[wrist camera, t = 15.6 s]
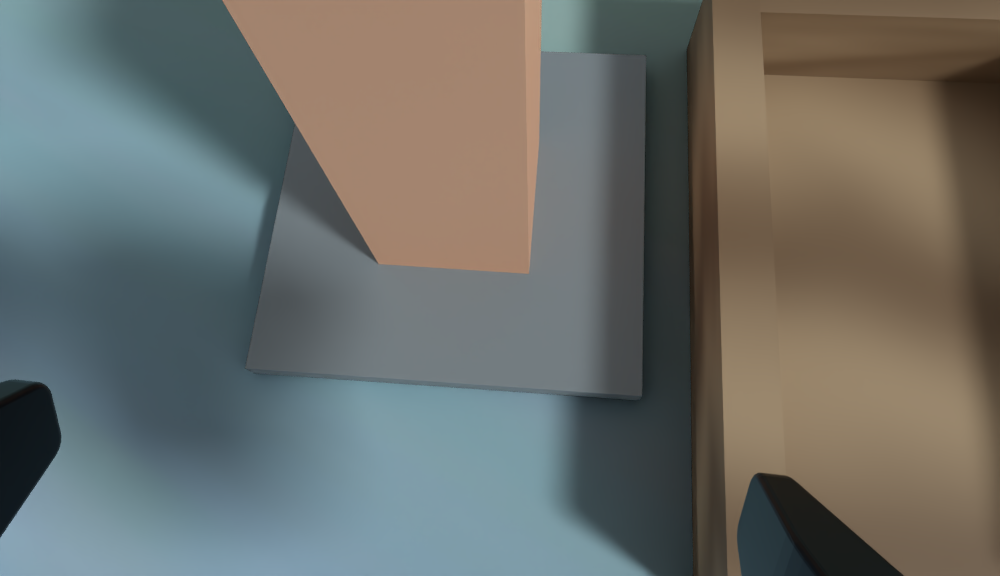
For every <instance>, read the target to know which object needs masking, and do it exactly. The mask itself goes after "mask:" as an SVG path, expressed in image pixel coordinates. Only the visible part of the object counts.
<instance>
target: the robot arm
mask: <svg viewBox="0 0 1000 576" xmlns="http://www.w3.org/2000/svg"><path fill="white" fill-rule="evenodd" d="M60 444H61V431H60V427H59V423H58V419H57V414H56V410H55V406H54V402H53V398H52V394H51V391H50V390H49V388H48V387H47V386H46V385H44V384H42V383H40V382H32V381H24V380H8V381H4V382H1V383H0V537H1V536H2V534H3V533H4V531H5V530H6V528H7V527H8V525H9V524H10V523H11V521H12V520H13V518H14V517H15V515H16V514H17V512H18V511H19V509H20V508H21V506H22V505H23V503H24V502H25V500H26V499H27V497H28V496H29V494H30V493H31V491H32V490H33V489H34V487H35V486H36V484H37V483H38V481H39V480H40V478H41V477H42V475H43V474H44V472H45V471H46V469H47V468H48V466H49V465H50V463H51V462H52V460H53V459H54V457H55V456H56V454H57V452H58V450H59V447H60ZM737 546H738V553H739V561H740V569H741V576H904V575H903V574H902V573H901V572H899V571H898V570H897V569H896V568H895V567H894V566H893V565H891V564H890V563H889V562H888V561H887V560H886V559H885V558H883V557H882V556H881V555H880V554H879V553H878V552H877V551H875V550H874V549H873V548H872V547H871V546H870V545H869V544H867V543H866V542H865V541H864V540H863V539H862V538H861V537H859V536H858V535H857V534H856V533H855V532H854V531H853V530H851V529H850V528H849V527H848V526H847V525H846V524H845V523H843V522H842V521H841V520H840V519H839V518H838V517H837V516H835V515H834V514H833V513H832V512H831V511H830V510H829V509H827V508H826V507H825V506H824V505H823V504H822V503H820V502H819V501H818V500H817V499H816V498H815V497H814V496H812V495H811V494H810V493H809V492H808V491H807V490H806V489H804V488H803V487H802V486H801V485H800V484H799V483H798V482H796V481H795V480H794V479H793V478H791V477H789V476H786V475H778V474H770V473H762V472H760V473H757V474H755V475H754V476H753V477H752V479H751V481H750V484H749V487H748V491H747V494H746V498H745V501H744V505H743V509H742V512H741V516H740V519H739V523H738V529H737Z"/></svg>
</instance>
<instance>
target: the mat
mask: <svg viewBox="0 0 1000 576" xmlns="http://www.w3.org/2000/svg"><path fill="white" fill-rule="evenodd" d="M645 106H646V55H624V54H596V53H568V52H541V63H540V124H539V150H538V163H537V176H536V189H535V202H534V215H533V228H532V241H531V254H530V267H529V274H523V273H508V272H492V271H477V270H462V269H446V268H431V267H415V266H400V265H385V264H378V262H377V260H376V259H375V257H374V255H373V254H372V252H371V250H370V249H369V247H368V245H367V244H366V242H365V240H364V239H363V237H362V235H361V233H360V232H359V230H358V228H357V227H356V225H355V223H354V222H353V220H352V218H351V217H350V215H349V213H348V212H347V210H346V208H345V206H344V205H343V203H342V201H341V200H340V198H339V196H338V195H337V193H336V191H335V190H334V188H333V186H332V185H331V183H330V181H329V179H328V178H327V176H326V174H325V173H324V171H323V169H322V168H321V166H320V164H319V163H318V161H317V159H316V158H315V156H314V154H313V153H312V151H311V149H310V147H309V146H308V144H307V142H306V141H305V139H304V137H303V136H302V134H301V132H300V131H299V129H298V127H297V126H296V124H295V126H294V131H293V136H292V140H291V145H290V150H289V155H288V160H287V165H286V170H285V175H284V180H283V185H282V190H281V194H280V199H279V204H278V209H277V214H276V219H275V224H274V229H273V234H272V239H271V244H270V248H269V253H268V258H267V263H266V268H265V273H264V278H263V283H262V288H261V293H260V298H259V302H258V307H257V312H256V317H255V322H254V327H253V332H252V337H251V342H250V347H249V352H248V356H247V361H246V366H245V369H247V370H249V371H251V372H253V373H258V374H272V375H286V376H301V377H315V378H329V379H343V380H357V381H371V382H386V383H400V384H414V385H428V386H442V387H457V388H471V389H485V390H499V391H513V392H527V393H542V394H556V395H570V396H584V397H598V398H612V399H627V400H639V399H640V398H641V397H642V361H643V276H644V191H645Z"/></svg>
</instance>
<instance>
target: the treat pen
mask: <svg viewBox="0 0 1000 576" xmlns="http://www.w3.org/2000/svg"><path fill="white" fill-rule="evenodd" d="M687 93H688V179H689V266H690V352H691V439H692V526H693V576H741V569H740V561H739V553H738V546H737V529H738V523H739V519H740V516H741V512H742V509H743V505H744V501H745V498H746V494H747V491H748V487H749V484H750V481H751V479H752V477H753V476H754V475H755V474H757V473H760V472H762V473H770V474H778V475H786V476H789V477H791V478H793V479H794V480H795V481H796V482H798V483H799V484H800V485H801V486H802V487H803V488H804V489H806V490H807V491H808V492H809V493H810V494H811V495H812V496H814V497H815V498H816V499H817V500H818V501H819V502H820V503H822V504H823V505H824V506H825V507H826V508H827V509H829V510H830V511H831V512H832V513H833V514H834V515H835V516H837V517H838V518H839V519H840V520H841V521H842V522H843V523H845V524H846V525H847V526H848V527H849V528H850V529H851V530H853V531H854V532H855V533H856V534H857V535H858V536H859V537H861V538H862V539H863V540H864V541H865V542H866V543H867V544H869V545H870V546H871V547H872V548H873V549H874V550H875V551H877V552H878V553H879V554H880V555H881V556H882V557H883V558H885V559H886V560H887V561H888V562H889V563H890V564H891V565H893V566H894V567H895V568H896V569H897V570H898V571H899V572H901V573H902V574H903V575H904V576H1000V0H703V1H702V4H701V7H700V10H699V14H698V17H697V20H696V23H695V26H694V29H693V32H692V35H691V38H690V41H689V44H688V47H687Z"/></svg>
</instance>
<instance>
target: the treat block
mask: <svg viewBox="0 0 1000 576" xmlns="http://www.w3.org/2000/svg"><path fill="white" fill-rule="evenodd" d="M222 1H223V2H224V4H225V6H226V7H227V9H228V11H229V13H230V14H231V16H232V18H233V19H234V21H235V23H236V24H237V26H238V28H239V29H240V31H241V33H242V34H243V36H244V38H245V40H246V41H247V43H248V45H249V46H250V48H251V50H252V51H253V53H254V55H255V56H256V58H257V60H258V61H259V63H260V65H261V67H262V68H263V70H264V72H265V73H266V75H267V77H268V78H269V80H270V82H271V83H272V85H273V87H274V88H275V90H276V92H277V93H278V95H279V97H280V99H281V100H282V102H283V104H284V105H285V107H286V109H287V110H288V112H289V114H290V115H291V117H292V119H293V120H294V122H295V124H296V126H297V127H298V129H299V131H300V132H301V134H302V136H303V137H304V139H305V141H306V142H307V144H308V146H309V147H310V149H311V151H312V153H313V154H314V156H315V158H316V159H317V161H318V163H319V164H320V166H321V168H322V169H323V171H324V173H325V174H326V176H327V178H328V179H329V181H330V183H331V185H332V186H333V188H334V190H335V191H336V193H337V195H338V196H339V198H340V200H341V201H342V203H343V205H344V206H345V208H346V210H347V212H348V213H349V215H350V217H351V218H352V220H353V222H354V223H355V225H356V227H357V228H358V230H359V232H360V233H361V235H362V237H363V239H364V240H365V242H366V244H367V245H368V247H369V249H370V250H371V252H372V254H373V255H374V257H375V259H376V260H377V262H378V264H385V265H400V266H415V267H431V268H446V269H462V270H477V271H492V272H508V273H523V274H529V267H530V254H531V241H532V228H533V215H534V202H535V189H536V176H537V163H538V150H539V124H540V63H541V2H542V0H222Z"/></svg>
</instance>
